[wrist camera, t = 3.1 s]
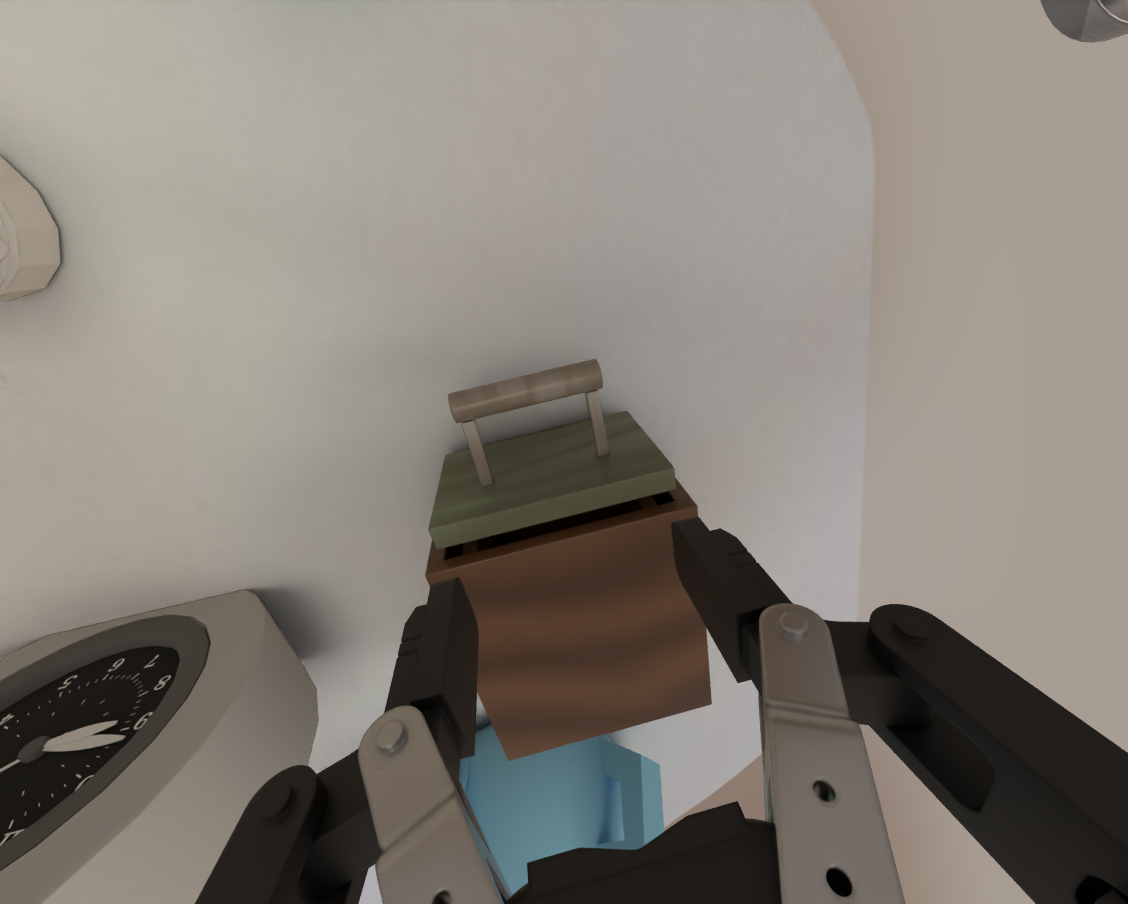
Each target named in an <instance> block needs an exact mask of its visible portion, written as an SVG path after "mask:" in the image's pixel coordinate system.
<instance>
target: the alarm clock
mask: <svg viewBox="0 0 1128 904" xmlns="http://www.w3.org/2000/svg"><path fill="white" fill-rule="evenodd" d="M318 721H319V719H318V704H317V688H316V687H315V685H314V683H313V681H312V680H311V678H310V676H309V674H308V673H307V671H306V669H305V667H304V666H303V664H302V663H301V661H300V660H299V658H298V657H297V655H296V654H295V652H294V650H293V649H292V647H291V646H290V644H289V643H288V641H287V640H286V638H285V637H284V635H283V634H282V632H281V631H280V629H279V628H278V626H277V625H276V623H275V622H274V620H273V618H272V617H271V615H270V614H269V612H268V611H267V609H266V608H265V606H264V605H263V603H262V602H261V600H260V599H259V597H258V596H257V595H256V594H254V593H252V592H249V591H247V590H241V591H236V592H232V593H228V594H223V595H219V596H215V597H211V598H206V599H202V600H198V601H194V602H189V603H185V604H181V605H176V606H172V607H168V608H164V609H159V610H155V611H151V612H147V613H142V614H138V615H134V616H130V617H125V618H121V619H117V620H112V621H108V622H104V623H100V624H95V625H91V626H87V627H83V628H78V629H74V630H70V631H66V632H61V633H57V634H53V635H49V636H46V637H44V638H42V639H40V640H38V641H36V642H34V643H32V644H30V645H28V646H26V647H23V648H21V649H19V650H17V651H15V652H14V653H12V654H10V655H8V656H7V657H5V658H3V659H1V660H0V904H195V902H196V900H197V898H198V897H199V895H200V893H201V891H202V889H203V887H204V885H205V883H206V881H207V880H208V878H209V876H210V874H211V872H212V870H213V868H214V866H215V865H216V863H217V861H218V859H219V857H220V855H221V853H222V851H223V849H224V848H225V846H226V844H227V842H228V840H229V838H230V836H231V834H232V833H233V831H234V829H235V827H236V825H237V823H238V821H239V819H240V817H241V816H242V814H243V812H244V810H245V808H246V807H247V805H248V803H249V802H250V800H251V799H252V797H253V796H254V795H255V794H256V792H257V791H258V790H259V789H260V788H261V787H262V786H263V785H264V784H265V783H266V782H267V781H268V780H269V779H271V778H272V777H273V776H275V775H276V774H278V773H279V772H281V771H283V770H284V769H287V768H289V767H292V766H296V765H306V766H308V763H309V759H310V755H311V750H312V746H313V742H314V738H315V734H316V730H317V726H318Z"/></svg>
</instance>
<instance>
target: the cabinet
mask: <svg viewBox="0 0 1128 904" xmlns="http://www.w3.org/2000/svg"><path fill="white" fill-rule="evenodd" d="M675 481H676V489H674V490H670V491H666V492H662V493H659V494H655V495H651V496H652V497H653V499H654V501H655V502H656V504H657V505H658V506H654V507H650V508H646V509H642V510H638V511H634V512H631V513H627V514H623V515H619V516H615V517H611V518H607V519H603V520H599V521H595V522H591V523H588V524H584V525H580V526H576V527H572V528H568V529H564V530H560V531H556V532H552V533H548V534H545V535H541V536H537V537H533V538H529V539H525V540H521V541H517V542H513V543H509V544H505V545H502V546H498V547H494V548H490V549H486V550H482V551H478V552H474V553H470V554H466V555H463V556H462V553H463V543H462V544H458V545H454V546H450V547H446V548H443V549H439V550H437V549H436V547H435V544H434V542H433V540H432V544H431V549H430V554H429V558H428V563H427V564H428V565H427V569H426V574H425V576H426V578H427V581H428V583H429V585H430V587H431V585H432V584H433V583H437V582H440V581H444V580H448V579H452V578H456V577H459V578H460V580H461V581H462V584H463V586H464V589H465V591H466V594H467V596H468V599H469V601H470V604H471V606H472V609H473V611H474V614H475V616H476V620H477V625H478V632H479V648H478V675H477V692H478V695H479V697H480V699H481V701H482V703H483V706H484V708H485V710H486V712H487V715H488V717H489V719H490V721H491V724H492V726H493V728H494V730H495V733H496V735H497V737H498V739H499V741H500V744H501V746H502V748H503V750H504V753H505V755H506V757H507V759H508V761H511V760H514V759H518V758H522V757H525V756H529V755H532V754H536V753H539V752H543V751H547V750H550V749H554V748H557V747H561V746H564V745H568V744H572V743H575V742H579V741H582V740H586V739H589V738H593V737H597V736H600V735H604V734H607V733H611V732H614V731H618V730H621V729H625V728H629V727H632V726H636V725H639V724H643V723H646V722H650V721H654V720H657V719H661V718H664V717H668V716H671V715H675V714H679V713H682V712H686V711H689V710H693V709H696V708H700V707H704V706H707V705H711V704H712V701H711V687H710V673H709V660H708V646H707V632H706V626H705V624H704V622H703V621H702V619H701V617H700V615H699V613H698V612H697V610H696V608H695V606H694V605H693V603H692V601H691V599H690V598H689V596H688V594H687V592H686V590H685V589H684V587H683V585H682V583H681V581H680V579H679V576H678V573H677V570H676V566H675V559H674V550H673V540H672V531H671V523H672V522H675V521H678V520H682V519H686V518H690V517H694V516H698V509H697V505H696V503H695V502H694V501H693V500H692V498H690V496H689V494H688V493H687V492H686V491H685V489H684V488H683V487H682V486H681V484H680V483H679V482H678V481H677V479H676V478H675Z"/></svg>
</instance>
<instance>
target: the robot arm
mask: <svg viewBox="0 0 1128 904" xmlns="http://www.w3.org/2000/svg"><path fill="white" fill-rule="evenodd" d="M671 531H672V540H673V550H674V559H675V566H676V570H677V573H678V576H679V579H680V581H681V583H682V585H683V587H684V589H685V590H686V592H687V594H688V596H689V598H690V599H691V601H692V603H693V605H694V606H695V608H696V610H697V612H698V613H699V615H700V617H701V619H702V621H703V622H704V624H705V626H706V628H707V629H708V631H709V633H710V635H711V636H712V638H713V640H714V642H715V644H716V645H717V647H718V649H719V651H720V652H721V654H722V656H723V658H724V659H725V661H726V663H727V665H728V666H729V668H730V670H731V672H732V674H733V675H734V677H735V679H736V681H737V682H738V683H740V682H744V681H748V680H752V682H753V683H754V685H755V687H756V688H757V690H758V692H759V716H760V732H761V748H762V763H763V780H764V806H765V821H762V820H757V819H746V818H745V817H744V815H743V812H742V810H741V808H740V806H739V803H738V801H736V802H733V803H729V804H726V805H723V806H719V807H716V808H712V809H709V810H706V811H702V812H698V813H695V814H692V815H688V816H686V817H685V818H683V819H682V820H680V821H679V822H677V823H676V824H674V825H673V826H672V827H670V828H669V829H667V830H666V831H664V832H663V833H662V834H660V835H659V836H657V837H656V838H654V839H653V840H652V841H650V842H649V843H647V844H646V845H644V846H643V847H641V848H639V849H635V850H626V849H605V848H584V847H579V848H576V849H572V850H569V851H565V852H562V853H558V854H555V855H552V856H548V857H545V858H541V859H538V860H535V861H531V862H528V863H527V873H528V883H527V884H525V885H524V886H522V887H521V888H520V889H519V890H518V891H516V892H515V893H514V894H513V895H512V893H511V891H510V889H509V886H508V884H507V882H506V880H505V878H504V876H503V874H502V872H501V870H500V868H499V866H498V864H497V862H496V860H495V858H494V856H493V854H492V851H491V849H490V847H489V845H488V842H487V840H486V838H485V836H484V834H483V831H482V829H481V827H480V825H479V822H478V820H477V818H476V816H475V814H474V811H473V809H472V807H471V805H470V802H469V800H468V798H467V796H466V794H465V791H464V789H463V787H462V785H461V783H460V781H459V774H460V759H464V758H468V757H471V756H475V731H476V703H477V675H478V648H479V632H478V625H477V620H476V616H475V614H474V611H473V609H472V606H471V604H470V601H469V599H468V596H467V594H466V591H465V589H464V586H463V584H462V581H461V580H460V578H459V577H456V578H452V579H448V580H444V581H440V582H437V583H433V584H432V585H431V587H430V591H429V597H428V602H427V604H426V605H422V606H418V607H416V608H415V609H414V611H413V612H412V614H411V615H410V617H409V619H408V620H407V622H406V623H405V626H404V631H403V635H402V639H401V641H402V644H400V648H399V652H398V658H397V661H396V665H395V669H394V673H393V678H392V682H391V686H390V691H389V695H388V699H387V703H386V708H385V711H384V714H383V715H381V716H380V717H379V718H378V719H377V720H376V721H375V722H373V724H372V725H371V726H370V727H369V728H368V730H367V731H366V733H365V735H364V736H363V738H362V740H361V743H360V746H359V748H358V749H357V750H356V751H354V752H353V753H351V754H350V755H348V756H346V757H345V758H343V759H341V760H340V761H338V762H336V763H335V764H333V765H331V766H330V767H328V768H326V769H325V770H323V771H321V772H319V773H318V774H316V773H315V772H314V771H313V770H312V768H310V767H308V766H306V765H296V766H292V767H289V768H287V769H284V770H283V771H281V772H279V773H278V774H276V775H275V776H273V777H272V778H271V779H269V780H268V781H267V782H266V783H265V784H264V785H263V786H262V787H261V788H260V789H259V790H258V791H257V792H256V794H255V795H254V796H253V797H252V799H251V800H250V802H249V803H248V805H247V807H246V808H245V810H244V812H243V814H242V816H241V817H240V819H239V821H238V823H237V825H236V827H235V829H234V831H233V833H232V834H231V836H230V838H229V840H228V842H227V844H226V846H225V848H224V849H223V851H222V853H221V855H220V857H219V859H218V861H217V863H216V865H215V866H214V868H213V870H212V872H211V874H210V876H209V878H208V880H207V881H206V883H205V885H204V887H203V889H202V891H201V893H200V895H199V897H198V898H197V900H196V902H195V904H358V903H359V900H360V896H361V893H362V889H363V886H364V882H365V879H366V875H367V872H368V868H370V867H371V866H373V865H374V864H375V868H376V875H377V880H378V884H379V889H380V893H381V897H382V902H383V904H905V900H904V896H903V892H902V888H901V885H900V880H899V876H898V872H897V868H896V864H895V860H894V857H893V852H892V849H891V845H890V841H889V837H888V833H887V829H886V825H885V821H884V817H883V813H882V809H881V805H880V801H879V797H878V793H877V790H876V785H875V781H874V777H873V773H872V770H871V766H870V762H869V758H868V754H867V750H866V746H865V742H864V738H863V735H862V731H861V728H860V726H859V724H864V725H869V726H870V727H871V728H872V729H873V730H874V731H875V732H876V733H877V734H878V735H879V737H880V738H881V739H882V740H883V741H884V742H885V743H886V744H887V745H888V746H889V747H890V748H891V749H892V750H893V752H894V753H895V754H896V755H897V756H898V757H899V758H900V759H901V760H902V761H903V762H904V763H905V764H906V765H907V767H908V768H909V769H910V770H911V771H912V772H913V773H914V774H915V775H916V776H917V777H918V778H919V779H920V780H921V781H922V783H923V784H924V785H925V786H926V787H927V788H928V789H929V790H930V791H931V792H932V793H933V794H934V795H935V796H936V798H937V799H938V800H939V801H940V802H941V803H942V804H943V805H944V806H945V807H946V808H947V809H948V810H949V811H950V812H951V814H952V815H953V816H954V817H955V818H956V819H957V820H958V821H959V822H960V823H961V824H962V825H963V826H964V827H965V828H966V830H968V832H969V833H970V834H971V835H972V836H973V837H974V838H975V839H976V840H977V841H978V842H979V843H980V845H981V846H982V847H983V848H984V849H985V850H986V851H987V852H988V853H989V854H990V855H991V856H992V857H993V858H994V859H995V861H996V862H997V863H998V864H999V865H1000V866H1001V867H1002V868H1003V869H1004V870H1005V871H1006V872H1007V873H1008V874H1009V876H1010V877H1011V878H1013V880H1014V881H1015V882H1016V883H1017V884H1018V885H1019V886H1020V887H1021V888H1022V889H1023V891H1025V893H1026V894H1027V895H1028V896H1029V897H1030V898H1031V899H1032V900H1033V901H1034V902H1035V903H1036V904H1128V753H1127V752H1126V751H1124V750H1123V749H1121V748H1120V747H1119V746H1117V745H1116V744H1114V743H1113V742H1112V741H1110V740H1109V739H1107V738H1106V737H1104V736H1103V735H1102V734H1100V733H1099V732H1098V731H1096V730H1095V729H1093V728H1092V727H1090V726H1089V725H1087V724H1086V723H1085V722H1083V721H1082V720H1081V719H1079V718H1078V717H1076V716H1075V715H1073V714H1072V713H1071V712H1069V711H1068V710H1066V709H1065V708H1064V707H1062V706H1061V705H1059V704H1058V703H1057V702H1055V701H1054V700H1052V699H1051V698H1049V697H1048V696H1047V695H1045V694H1044V693H1042V692H1041V691H1040V690H1038V689H1037V688H1035V687H1034V686H1033V685H1031V684H1030V683H1028V682H1027V681H1025V680H1024V679H1023V678H1021V677H1020V676H1019V675H1017V674H1016V673H1014V672H1013V671H1011V670H1010V669H1009V668H1007V667H1006V666H1004V665H1003V664H1002V663H1000V662H999V661H997V660H996V659H994V658H993V657H992V656H990V655H989V654H987V653H986V652H985V651H983V650H982V649H980V648H979V647H977V646H976V645H975V644H973V643H972V642H971V641H969V640H968V639H966V638H965V637H964V636H962V635H960V634H959V633H958V632H956V631H955V630H954V629H952V628H951V627H949V626H948V625H947V624H945V623H944V622H942V621H941V620H939V619H938V618H936V617H935V616H933V615H932V614H930V613H928V612H926V611H923V610H921V609H919V608H915V607H912V606H908V605H901V604H889V605H884V606H880V607H878V608H877V609H875V610H874V611H873V612H872V614H871V616H870V621H869V622H837V621H828V620H823V619H822V618H821V617H820V616H819V615H818V614H816V613H815V612H813V611H812V610H810V609H808V608H806V607H803V606H800V605H796V604H793V603H792V602H791V601H790V600H789V599H788V598H787V596H786V595H785V594H784V593H783V592H782V591H781V589H780V588H779V587H778V586H777V585H776V583H775V582H774V581H773V580H772V579H771V578H770V576H769V575H768V574H767V573H766V572H765V570H764V569H763V568H762V567H761V566H760V565H759V563H757V562H756V560H755V559H754V557H753V556H752V555H751V554H750V553H749V552H747V549H746V548H745V547H744V546H743V545H742V543H741V542H740V541H739V540H738V539H737V537H735V536H733V535H731V534H730V533H728V532H726V531H724V530H722V529H721V528H720V529H716V530H712V531H709V529H708V528H707V527H706V526H705V524H704V523H703V522H702V520H701V519H700V518H699V517H698V516H694V517H690V518H686V519H682V520H678V521H675V522H672V523H671Z"/></svg>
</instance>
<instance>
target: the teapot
mask: <svg viewBox="0 0 1128 904" xmlns="http://www.w3.org/2000/svg"><path fill="white" fill-rule="evenodd" d="M459 781H460V783H461V785H462V787H463V789H464V791H465V794H466V796H467V798H468V800H469V802H470V805H471V807H472V809H473V811H474V814H475V816H476V818H477V820H478V822H479V825H480V827H481V829H482V831H483V834H484V836H485V838H486V840H487V842H488V845H489V847H490V849H491V851H492V854H493V856H494V858H495V860H496V862H497V864H498V866H499V868H500V870H501V872H502V874H503V876H504V878H505V880H506V882H507V884H508V886H509V889H510V891H511V893H512V895H513V894H514V893H515V892H516V891H518V890H519V889H520V888H521V887H522V886H524V885H525V884H527V883H528V873H527V863H528V862H531V861H535V860H538V859H541V858H545V857H548V856H552V855H555V854H558V853H562V852H565V851H569V850H572V849H576V848H579V847H584V848H605V849H626V850H635V849H639V848H641V847H643V846H644V845H646V844H647V843H649V842H650V841H652V840H653V839H654V838H656V837H657V836H659V835H660V834H662V833H663V832H664V822H663V808H662V794H661V779H660V765H659V764H657V763H655V762H654V761H652V760H650V759H648V758H646V757H644V756H642V755H641V754H638V753H636V752H633V751H631V750H628V749H626V748H624V747H621V746H619V745H616V744H615V743H614V742H613V741H612V740H611V739H609V738H608V737H607V736H606V735H600V736H597V737H593V738H589V739H586V740H582V741H579V742H575V743H572V744H568V745H564V746H561V747H557V748H554V749H550V750H547V751H543V752H539V753H536V754H532V755H529V756H525V757H522V758H518V759H514V760H511V761H508V759H507V757H506V755H505V753H504V750H503V748H502V746H501V744H500V741H499V739H498V737H497V735H496V733H495V730H494V728H493V726H492V724H490V725H488V726H486V727H484V728H482V729H481V730H479V731H478V732H476V733H475V756H471V757H468V758H464V759H460V774H459Z"/></svg>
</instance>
